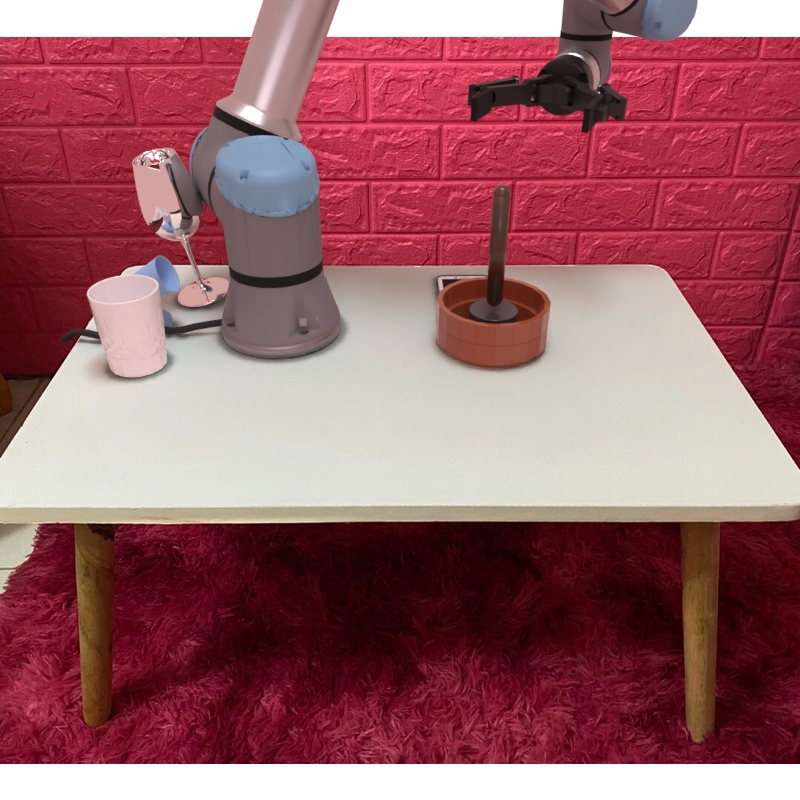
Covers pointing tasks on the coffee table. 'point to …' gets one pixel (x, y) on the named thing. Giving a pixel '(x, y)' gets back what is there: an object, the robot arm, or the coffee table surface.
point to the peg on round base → (496, 266)
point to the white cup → (130, 324)
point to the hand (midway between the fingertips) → (528, 115)
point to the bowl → (487, 339)
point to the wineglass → (175, 215)
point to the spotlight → (162, 280)
